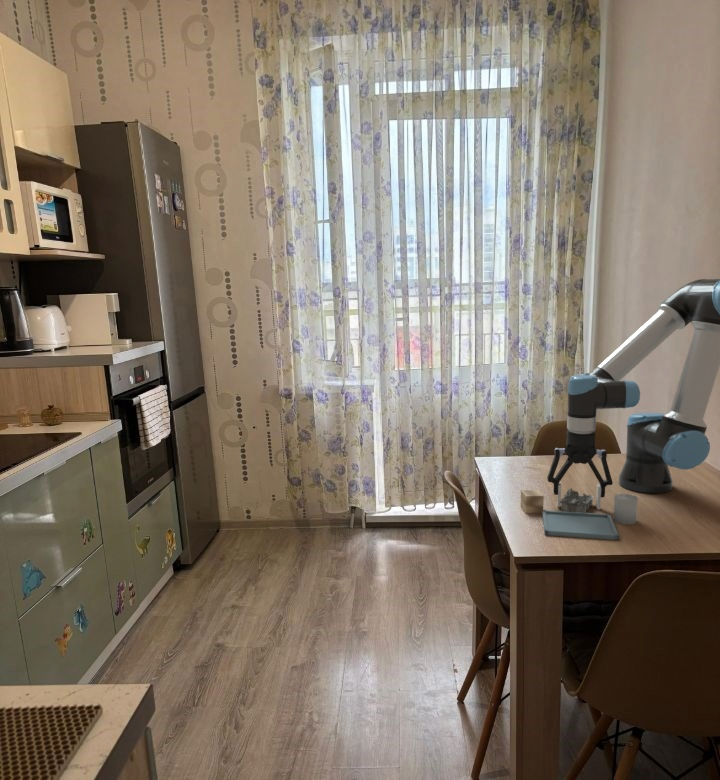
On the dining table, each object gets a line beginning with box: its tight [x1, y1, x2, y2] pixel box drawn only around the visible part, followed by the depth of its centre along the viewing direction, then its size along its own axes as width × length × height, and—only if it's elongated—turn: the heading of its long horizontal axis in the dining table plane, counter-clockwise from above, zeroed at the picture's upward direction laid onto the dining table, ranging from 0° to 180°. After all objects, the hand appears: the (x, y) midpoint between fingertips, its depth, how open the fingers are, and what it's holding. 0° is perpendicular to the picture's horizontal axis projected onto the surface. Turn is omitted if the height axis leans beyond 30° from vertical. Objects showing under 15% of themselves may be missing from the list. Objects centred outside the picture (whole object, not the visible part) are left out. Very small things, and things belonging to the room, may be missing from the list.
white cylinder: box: [613, 493, 639, 526], centre depth 161 cm, size 6×6×6 cm
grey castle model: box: [560, 487, 595, 513], centre depth 172 cm, size 11×8×4 cm
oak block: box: [520, 489, 545, 514], centre depth 170 cm, size 5×5×5 cm
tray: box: [541, 509, 620, 541], centre depth 158 cm, size 18×15×1 cm
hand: (578, 506), depth 171 cm, fingers open, 10 cm apart
